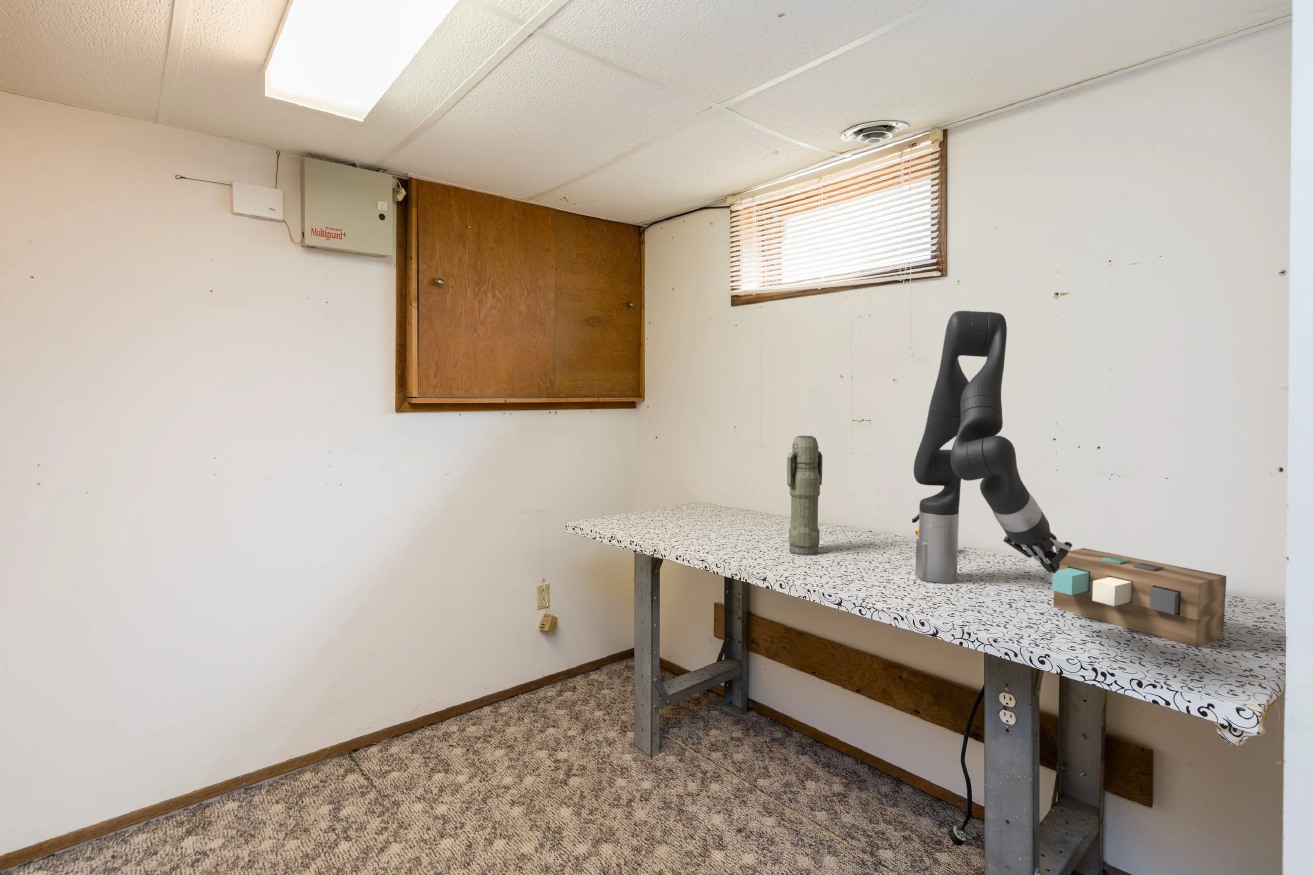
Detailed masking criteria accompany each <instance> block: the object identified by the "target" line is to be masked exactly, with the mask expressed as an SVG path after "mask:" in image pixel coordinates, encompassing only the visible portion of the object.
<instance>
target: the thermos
mask: <svg viewBox="0 0 1313 875" xmlns="http://www.w3.org/2000/svg"><path fill="white" fill-rule="evenodd" d="M791 447H792V448H791V449H792V450H791V452H790V453H789V454H788V456H787V460H786V462H787V463H786V470H787V471H786V475H787V476H786V484H787V486H788V487H789V494H790V499H791V500H790V503H791V504H790V527H789V528H788V529H789V530H788V543H789V548H788V550H789V551H788V552H789V553H791V554H793V555H797V556H816V555H818V554H819V552H820V550H819V546H820V531H821V530H820V529H819V496H820V495H821V486H822V484H823V454H822V452H821V451H820V450H819V444H818V441H817V438H816V437H814V436H813V435H797V436H796V437H794V440H793V443H792V446H791Z"/></svg>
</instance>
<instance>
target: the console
mask: <svg viewBox="0 0 1313 875" xmlns="http://www.w3.org/2000/svg"><path fill="white" fill-rule="evenodd" d="M1059 564H1060V567H1059V569H1058V570H1062V569H1067V568H1071V567H1073V568H1078V569H1082V570H1087V571H1090V591H1086V592H1082V593H1078V594H1074V595H1069V594H1065V593H1062V592H1058V591H1054V590H1053V606H1052V607H1053V608H1056V609H1060V610H1063V611H1066V612H1070V613H1073V614H1077V615H1081V616H1085V617H1088V618H1092V619H1095V620H1098V621H1101V622H1104V623H1110V624H1113V625H1116V626H1119V627H1123V628H1127V629H1130V630H1133V631H1137V632H1140V633H1144V634H1148V635H1152V636H1155V637H1159V638H1161V639H1165V640H1168V641H1173V642H1176V643H1180V644H1184V645H1186V646H1190V647H1193V648H1196V647H1200V646H1202V645H1205V644H1207V643H1208V644H1209V643H1210V642H1213V641H1215V640H1218V639H1222V638H1223V637H1224V632H1225V631H1224V625H1225V613H1226V612H1225V609H1226V591H1227V590H1226V589H1227V575H1224V574H1220V573H1219V574H1218V573H1214V572H1209V571H1203V570H1198V569H1192V568H1188V567H1183V566H1182V567H1181V566H1177V565H1172V564H1168V563H1167V564H1166V563H1163V562H1156V561H1152V560H1147V559H1141V558H1138V557H1137V558H1136V557H1131V556H1127V555H1121V554H1117V553H1111V552H1105V551H1100V550H1095V549H1090V548H1085V547H1081V548H1078V549H1072V550H1071V549H1070V550H1069V552H1068V554H1067V556H1066V557H1065V558H1064V559H1062V560H1061V561H1060V562H1059ZM1112 576H1113V577H1118V578H1122V579H1127V580H1131V581H1133V594H1132V601H1131V602H1127V603H1124V604H1120V605H1117V606H1111V605H1108V604H1104V603H1100V602H1096V601H1092V595H1093V581H1095V580H1099V579H1103V578H1108V577H1112ZM1157 586H1158V587H1163V588H1167V589H1172V590H1176V591H1181V599H1180V613H1178V614H1170V613H1166V612H1162V611H1158V610H1154V609H1150V590H1151V588H1153V587H1157Z"/></svg>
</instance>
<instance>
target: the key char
mask: <svg viewBox="0 0 1313 875" xmlns="http://www.w3.org/2000/svg"><path fill="white" fill-rule="evenodd" d="M1180 599H1181V591H1176V590H1172V589H1167V588H1163V587H1158V586H1157V587H1153V588H1151V590H1150V609H1154V610H1158V611H1162V612H1166V613H1170V614H1178V613H1180Z"/></svg>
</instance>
